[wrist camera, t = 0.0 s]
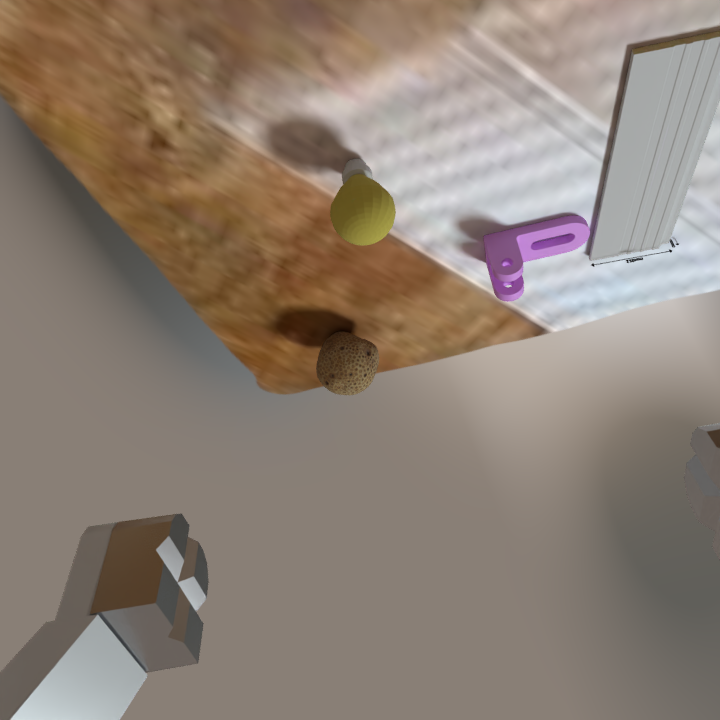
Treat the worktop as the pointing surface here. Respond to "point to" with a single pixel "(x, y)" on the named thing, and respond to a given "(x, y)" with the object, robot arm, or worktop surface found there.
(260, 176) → the worktop surface
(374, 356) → the natural sponge
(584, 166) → the worktop surface
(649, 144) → the baseboard molding
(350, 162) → the light bulb
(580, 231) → the bracket
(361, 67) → the worktop surface
